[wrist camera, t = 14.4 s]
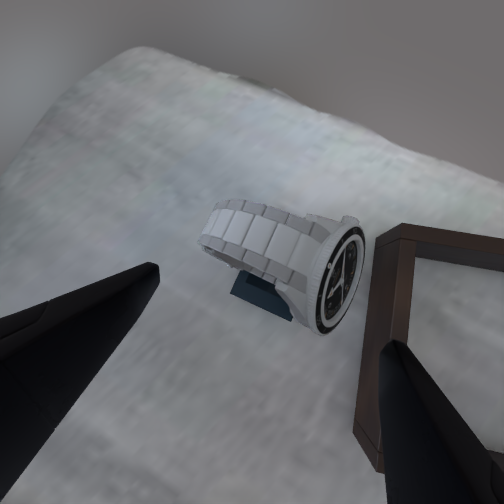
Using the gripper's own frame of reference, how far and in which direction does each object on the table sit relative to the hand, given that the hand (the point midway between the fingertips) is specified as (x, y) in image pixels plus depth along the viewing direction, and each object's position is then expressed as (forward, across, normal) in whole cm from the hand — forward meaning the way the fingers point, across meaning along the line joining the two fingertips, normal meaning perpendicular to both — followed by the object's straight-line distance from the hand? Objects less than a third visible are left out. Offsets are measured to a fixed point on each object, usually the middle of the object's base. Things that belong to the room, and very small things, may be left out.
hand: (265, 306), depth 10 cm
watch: (+9, 0, +6) cm, 10 cm away
